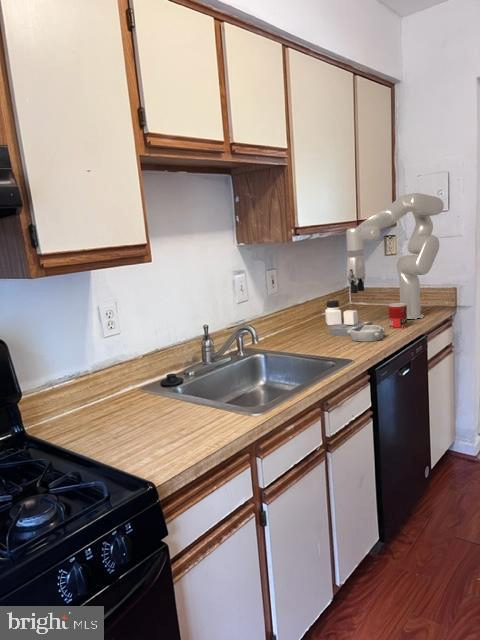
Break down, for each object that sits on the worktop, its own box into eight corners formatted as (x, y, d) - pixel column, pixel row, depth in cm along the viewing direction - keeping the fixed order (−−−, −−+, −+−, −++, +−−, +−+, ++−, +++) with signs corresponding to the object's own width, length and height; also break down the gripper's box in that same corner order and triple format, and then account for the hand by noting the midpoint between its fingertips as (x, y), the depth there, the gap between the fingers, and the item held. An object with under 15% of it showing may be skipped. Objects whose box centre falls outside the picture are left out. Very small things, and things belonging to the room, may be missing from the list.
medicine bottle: (342, 324, 240) (340, 301, 238) (328, 325, 241) (326, 302, 239) (339, 321, 247) (338, 299, 245) (325, 322, 248) (324, 300, 246)
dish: (344, 341, 206) (343, 330, 205) (361, 334, 215) (360, 323, 215) (374, 344, 196) (374, 332, 195) (390, 337, 205) (390, 326, 204)
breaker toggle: (348, 322, 226) (347, 310, 225) (357, 323, 223) (357, 310, 221) (344, 324, 223) (343, 311, 222) (353, 324, 220) (353, 312, 219)
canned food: (404, 329, 217) (403, 305, 215) (387, 328, 222) (386, 305, 220) (409, 325, 223) (408, 302, 221) (392, 325, 228) (392, 302, 226)
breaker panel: (350, 325, 235) (349, 319, 234) (372, 327, 227) (372, 321, 226) (329, 334, 220) (328, 328, 219) (352, 336, 212) (352, 329, 212)
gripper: (357, 252, 232) (358, 289, 235) (339, 256, 219) (341, 294, 222) (371, 252, 227) (373, 289, 230) (354, 255, 214) (356, 295, 217)
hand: (357, 291), depth 226 cm, fingers open, 5 cm apart
